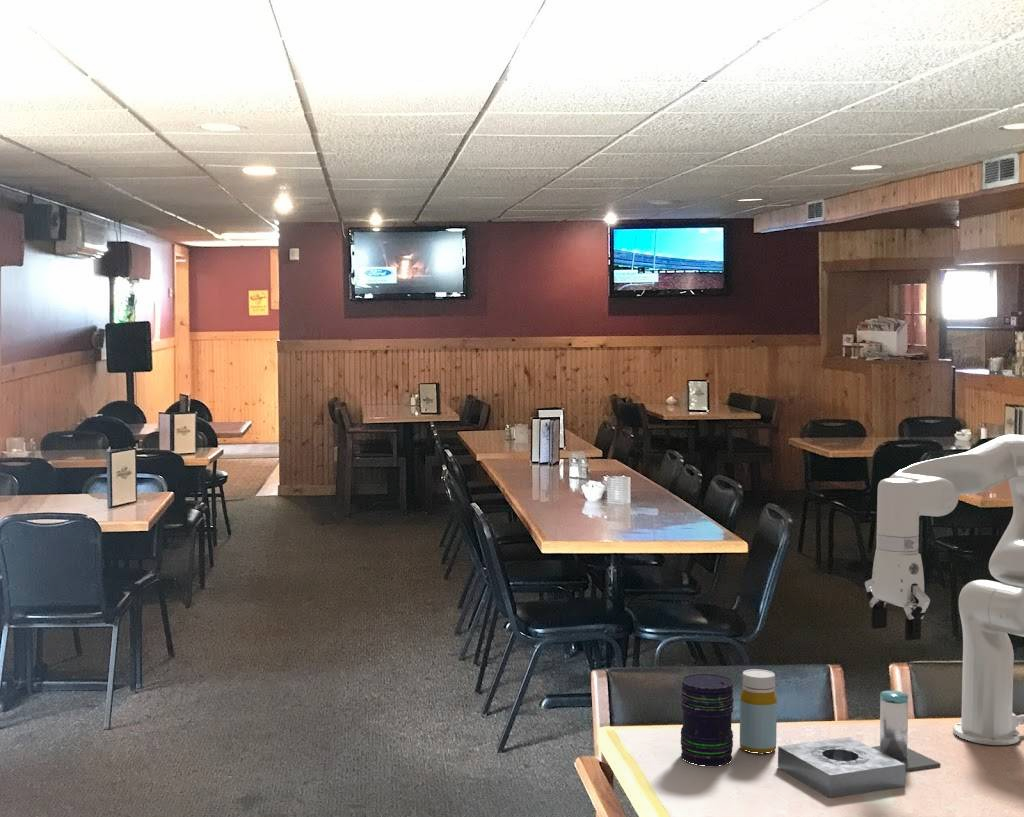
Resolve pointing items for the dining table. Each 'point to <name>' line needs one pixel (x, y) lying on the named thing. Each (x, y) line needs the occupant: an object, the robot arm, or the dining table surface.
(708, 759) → the storage jar
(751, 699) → the bottle
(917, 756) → the mat
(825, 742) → the housing
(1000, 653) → the robot arm
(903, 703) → the plug
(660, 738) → the dining table surface
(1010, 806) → the dining table surface
